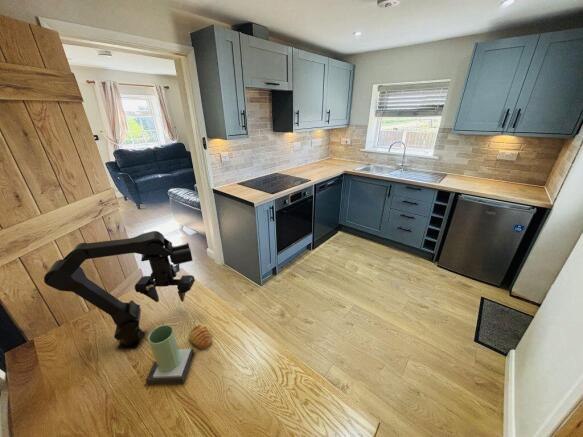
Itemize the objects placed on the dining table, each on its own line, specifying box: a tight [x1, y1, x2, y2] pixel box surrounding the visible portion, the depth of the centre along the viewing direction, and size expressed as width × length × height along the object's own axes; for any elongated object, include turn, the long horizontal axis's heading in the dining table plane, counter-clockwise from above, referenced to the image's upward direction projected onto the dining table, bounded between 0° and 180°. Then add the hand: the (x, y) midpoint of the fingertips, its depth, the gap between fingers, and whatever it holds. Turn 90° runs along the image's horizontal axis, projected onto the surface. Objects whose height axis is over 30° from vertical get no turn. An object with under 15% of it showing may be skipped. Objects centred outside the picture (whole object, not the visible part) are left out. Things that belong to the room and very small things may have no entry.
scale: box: [145, 348, 195, 386], centre depth 78 cm, size 11×10×3 cm
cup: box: [147, 324, 181, 372], centre depth 74 cm, size 7×7×13 cm
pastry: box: [188, 324, 212, 350], centre depth 87 cm, size 9×7×4 cm
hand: (170, 301), depth 88 cm, fingers open, 9 cm apart
